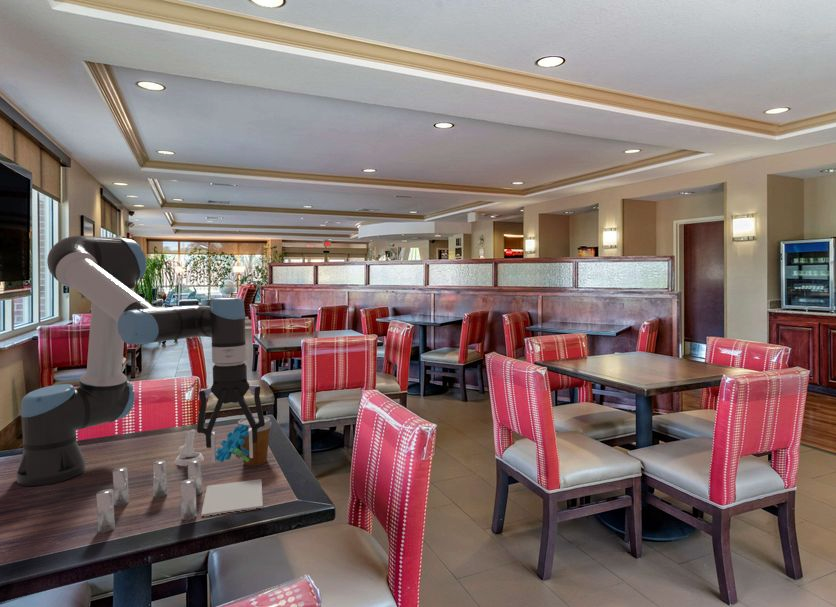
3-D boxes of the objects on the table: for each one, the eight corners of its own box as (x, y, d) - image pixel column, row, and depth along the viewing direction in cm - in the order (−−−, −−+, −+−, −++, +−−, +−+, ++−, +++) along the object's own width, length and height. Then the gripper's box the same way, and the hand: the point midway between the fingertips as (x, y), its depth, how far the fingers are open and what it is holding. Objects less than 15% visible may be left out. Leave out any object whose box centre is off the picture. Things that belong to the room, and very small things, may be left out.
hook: (190, 453, 139) (174, 437, 141) (183, 480, 145) (168, 464, 147) (213, 440, 145) (197, 424, 147) (206, 466, 151) (190, 450, 153)
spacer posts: (96, 533, 106) (94, 496, 106) (118, 497, 123) (116, 465, 123) (195, 519, 112) (194, 483, 112) (203, 487, 129) (202, 456, 129)
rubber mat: (201, 516, 113) (201, 514, 113) (207, 488, 129) (207, 485, 129) (262, 508, 117) (262, 505, 117) (261, 481, 133) (261, 479, 133)
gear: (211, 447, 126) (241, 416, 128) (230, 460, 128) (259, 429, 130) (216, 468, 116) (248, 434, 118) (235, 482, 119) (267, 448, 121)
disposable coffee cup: (244, 455, 151) (243, 415, 151) (276, 455, 151) (275, 415, 150) (232, 468, 142) (230, 425, 141) (266, 468, 141) (265, 425, 141)
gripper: (179, 369, 114) (183, 469, 116) (275, 362, 121) (278, 458, 122) (184, 363, 121) (187, 458, 123) (274, 358, 128) (276, 448, 129)
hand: (232, 458), depth 122 cm, fingers closed on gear, 8 cm apart
